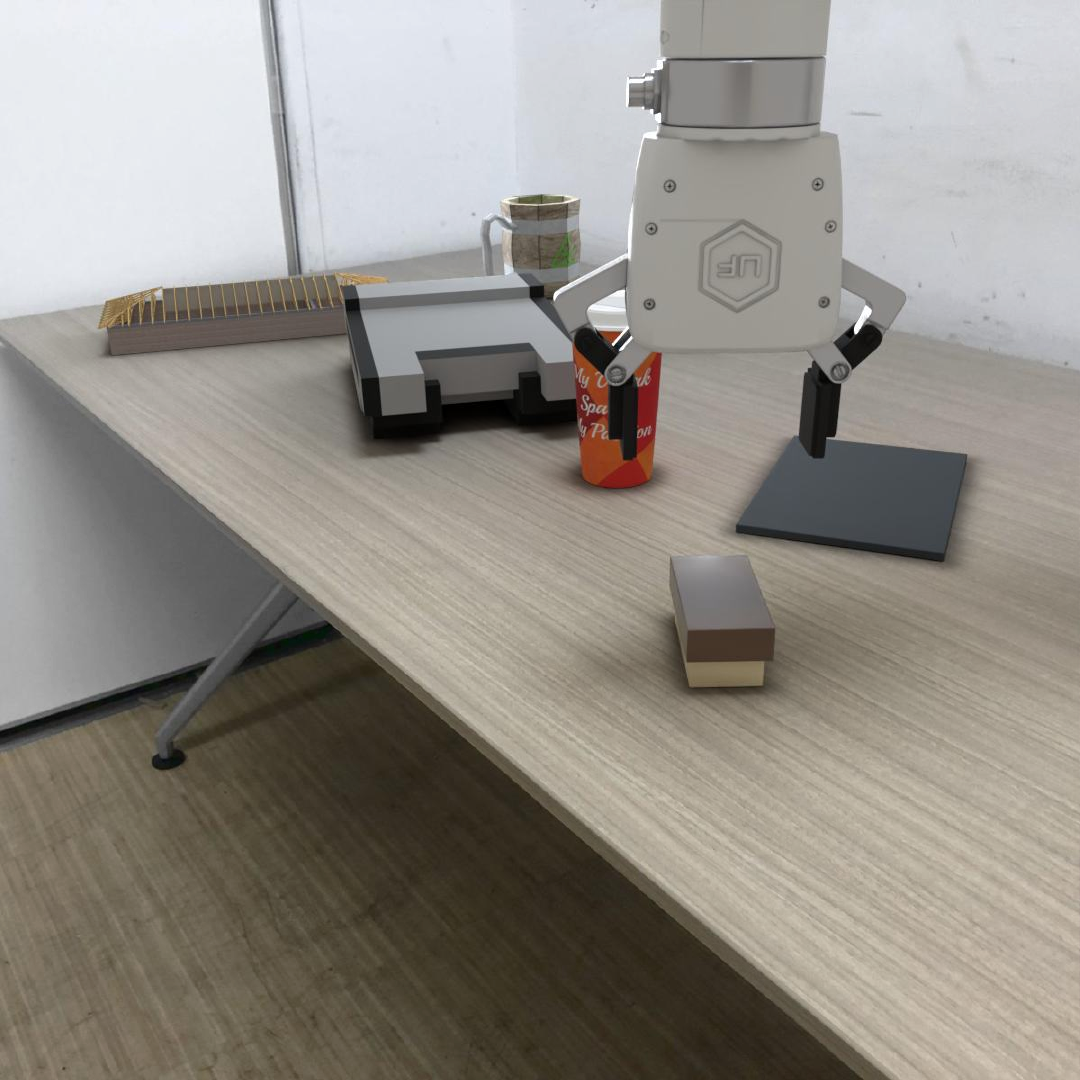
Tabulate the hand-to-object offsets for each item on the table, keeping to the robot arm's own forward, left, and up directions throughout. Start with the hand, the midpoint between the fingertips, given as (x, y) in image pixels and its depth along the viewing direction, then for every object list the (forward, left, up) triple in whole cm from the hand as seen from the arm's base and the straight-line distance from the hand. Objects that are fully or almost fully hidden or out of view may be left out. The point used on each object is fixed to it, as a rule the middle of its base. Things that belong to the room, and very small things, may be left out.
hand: (719, 450), depth 58 cm
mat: (-14, -23, -12) cm, 30 cm away
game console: (+18, -51, -13) cm, 56 cm away
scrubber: (0, 0, -12) cm, 12 cm away
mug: (+12, -97, -13) cm, 99 cm away
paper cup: (+4, -28, -13) cm, 31 cm away
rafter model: (+45, -80, -13) cm, 93 cm away
